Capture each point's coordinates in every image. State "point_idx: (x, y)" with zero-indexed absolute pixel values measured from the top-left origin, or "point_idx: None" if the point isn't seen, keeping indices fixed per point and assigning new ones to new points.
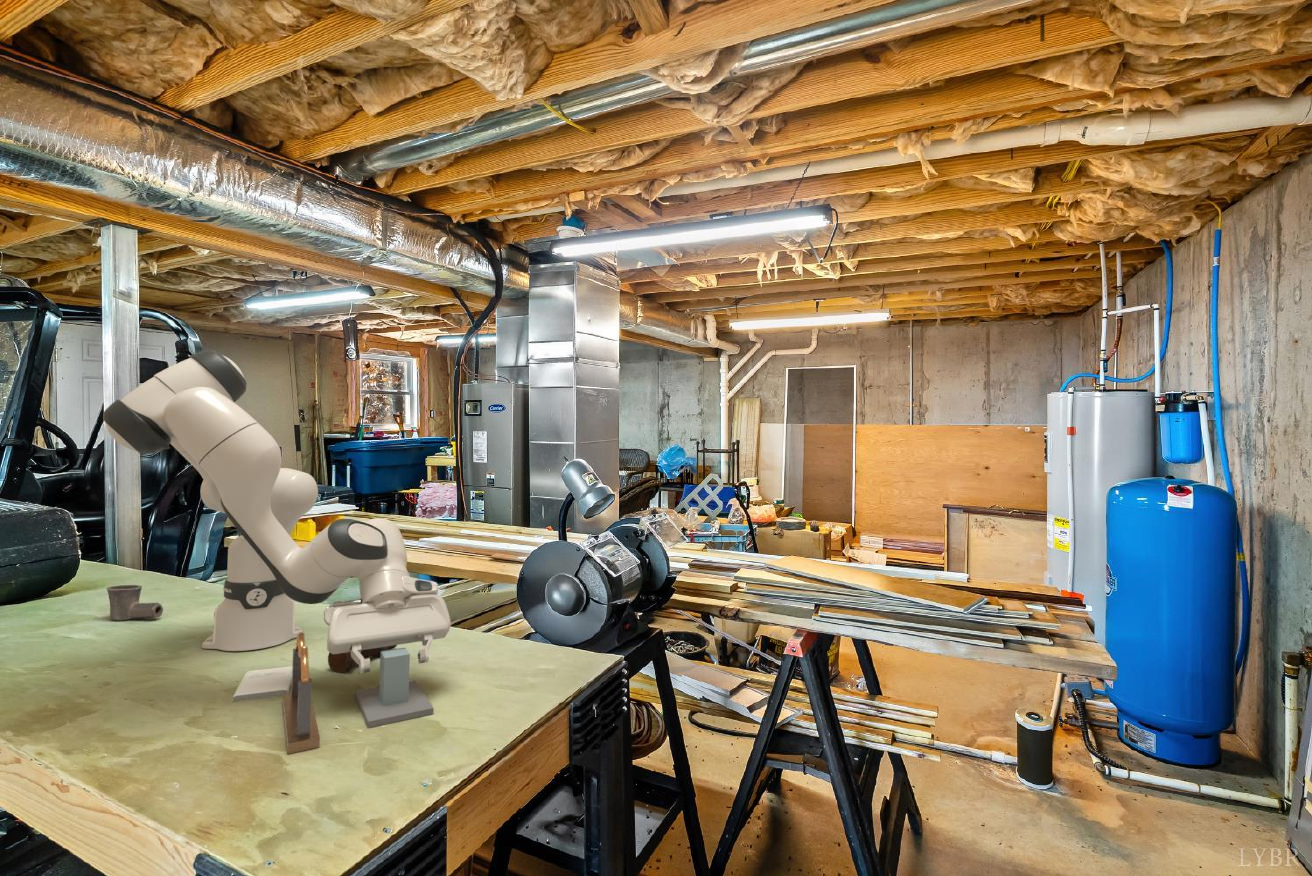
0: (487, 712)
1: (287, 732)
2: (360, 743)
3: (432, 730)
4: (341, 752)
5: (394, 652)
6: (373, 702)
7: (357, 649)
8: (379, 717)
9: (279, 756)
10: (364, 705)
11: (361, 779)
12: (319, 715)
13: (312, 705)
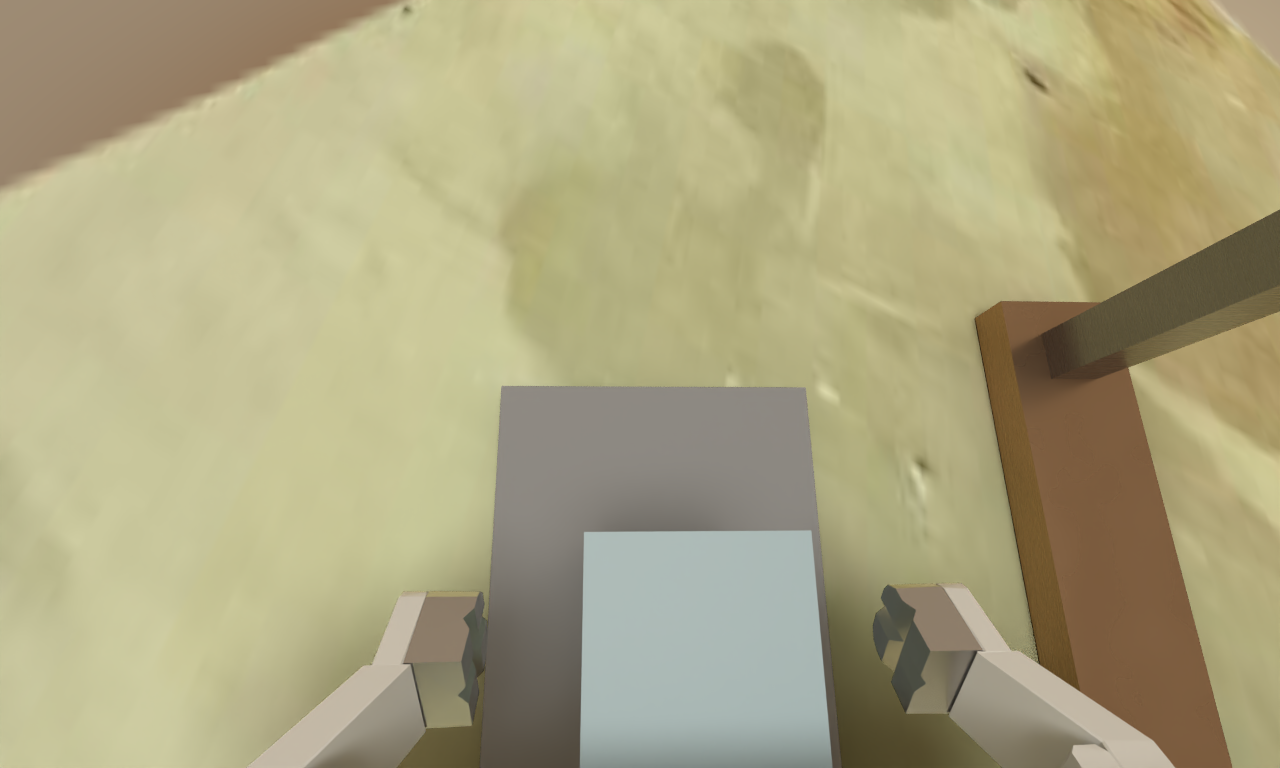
0: (283, 286)
1: (1137, 411)
2: (829, 273)
3: (556, 241)
4: (895, 239)
5: (708, 666)
6: None
7: (1110, 747)
8: (755, 406)
9: None
10: None
11: (833, 47)
12: None
13: None
